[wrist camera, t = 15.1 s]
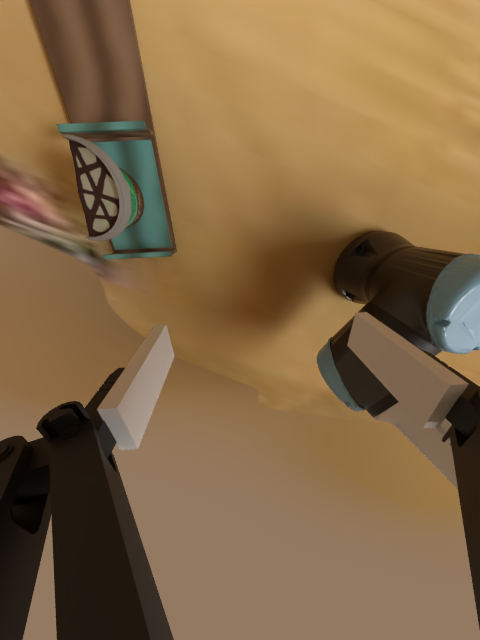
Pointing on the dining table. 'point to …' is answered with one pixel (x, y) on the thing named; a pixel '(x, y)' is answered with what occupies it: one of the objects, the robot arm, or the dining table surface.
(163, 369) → the robot arm
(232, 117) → the dining table surface
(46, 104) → the dining table surface
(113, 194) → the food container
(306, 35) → the dining table surface
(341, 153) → the dining table surface
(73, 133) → the rack
